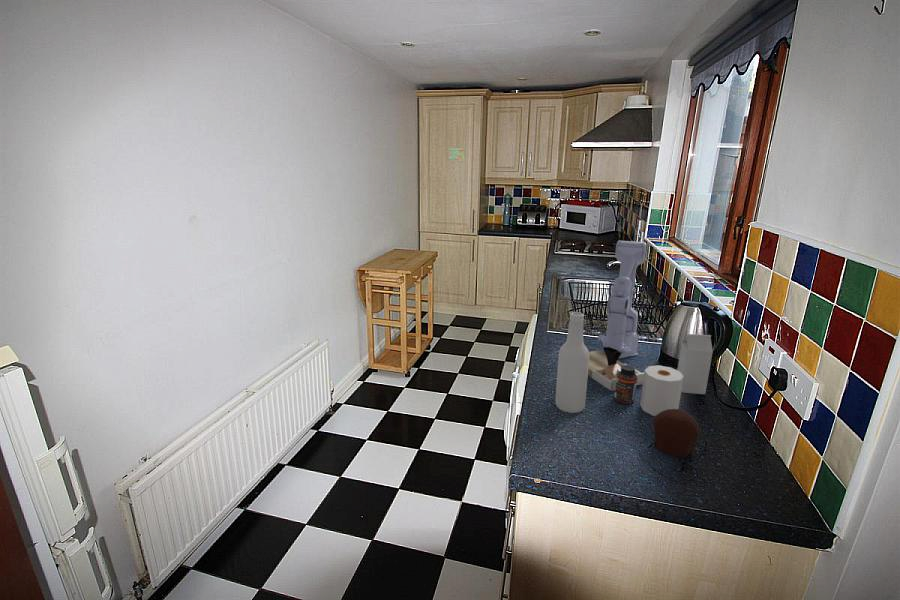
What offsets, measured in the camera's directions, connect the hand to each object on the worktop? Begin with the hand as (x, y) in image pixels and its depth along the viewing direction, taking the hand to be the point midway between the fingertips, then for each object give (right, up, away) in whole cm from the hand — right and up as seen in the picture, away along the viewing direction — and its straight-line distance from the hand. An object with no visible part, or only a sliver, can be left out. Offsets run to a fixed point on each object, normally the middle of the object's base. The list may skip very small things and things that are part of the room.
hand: (611, 367), depth 155 cm
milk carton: (+23, -6, -8) cm, 25 cm away
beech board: (-3, -1, +8) cm, 9 cm away
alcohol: (-19, -9, -18) cm, 28 cm away
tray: (+1, -4, -2) cm, 5 cm away
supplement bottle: (-1, -8, -14) cm, 17 cm away
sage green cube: (+2, -1, -4) cm, 5 cm away
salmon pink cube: (0, -3, -1) cm, 3 cm away
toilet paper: (+7, -10, -20) cm, 23 cm away
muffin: (+2, -15, -38) cm, 41 cm away
